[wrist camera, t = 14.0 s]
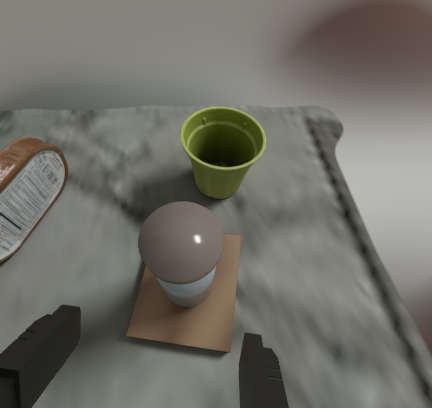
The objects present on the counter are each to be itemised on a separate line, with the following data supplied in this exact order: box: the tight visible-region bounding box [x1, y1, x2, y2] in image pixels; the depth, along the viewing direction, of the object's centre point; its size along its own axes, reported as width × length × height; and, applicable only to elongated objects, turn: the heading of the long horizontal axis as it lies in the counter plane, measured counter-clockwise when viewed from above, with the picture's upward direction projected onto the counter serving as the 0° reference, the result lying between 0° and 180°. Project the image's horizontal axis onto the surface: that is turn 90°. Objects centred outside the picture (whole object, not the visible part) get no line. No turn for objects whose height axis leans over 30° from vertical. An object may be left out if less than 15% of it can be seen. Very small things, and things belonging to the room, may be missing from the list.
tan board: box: [126, 233, 241, 352], centre depth 28 cm, size 10×12×1 cm
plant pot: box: [180, 107, 266, 199], centre depth 32 cm, size 9×9×9 cm
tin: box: [0, 137, 68, 263], centre depth 28 cm, size 15×3×8 cm, turn 163°
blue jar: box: [138, 201, 224, 308], centre depth 22 cm, size 6×6×12 cm
